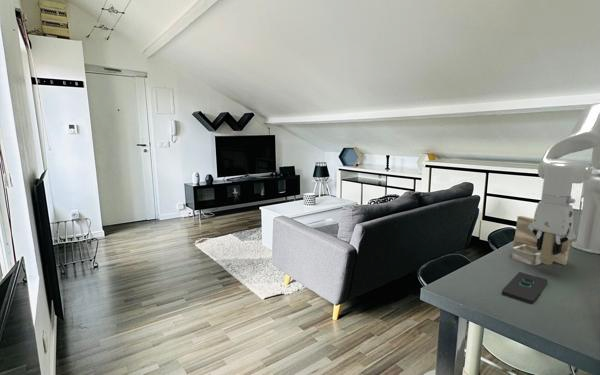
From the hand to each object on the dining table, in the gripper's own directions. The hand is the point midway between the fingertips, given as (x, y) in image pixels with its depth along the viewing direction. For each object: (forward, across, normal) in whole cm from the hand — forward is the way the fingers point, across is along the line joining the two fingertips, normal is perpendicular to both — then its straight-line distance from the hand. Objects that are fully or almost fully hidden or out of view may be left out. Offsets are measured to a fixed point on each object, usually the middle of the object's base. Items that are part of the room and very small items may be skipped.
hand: (548, 251), depth 113 cm
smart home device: (+8, -3, +19) cm, 21 cm away
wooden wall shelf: (+8, +9, -9) cm, 15 cm away
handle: (+4, 0, 0) cm, 4 cm away
